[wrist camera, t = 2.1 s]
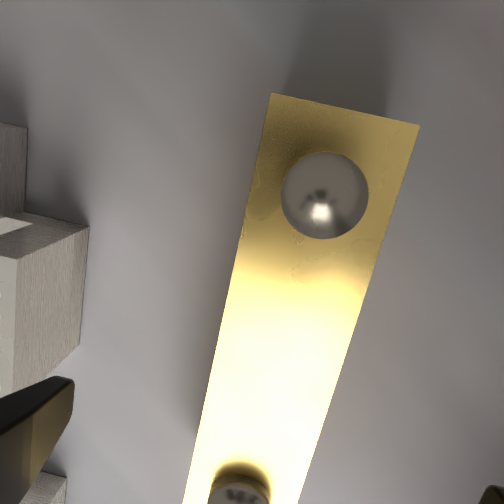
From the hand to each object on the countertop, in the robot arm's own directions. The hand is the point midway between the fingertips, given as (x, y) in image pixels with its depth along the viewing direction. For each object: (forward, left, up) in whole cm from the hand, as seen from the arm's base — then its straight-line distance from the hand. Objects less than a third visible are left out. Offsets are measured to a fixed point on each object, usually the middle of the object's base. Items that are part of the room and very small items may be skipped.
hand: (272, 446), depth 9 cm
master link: (0, 0, -7) cm, 7 cm away
